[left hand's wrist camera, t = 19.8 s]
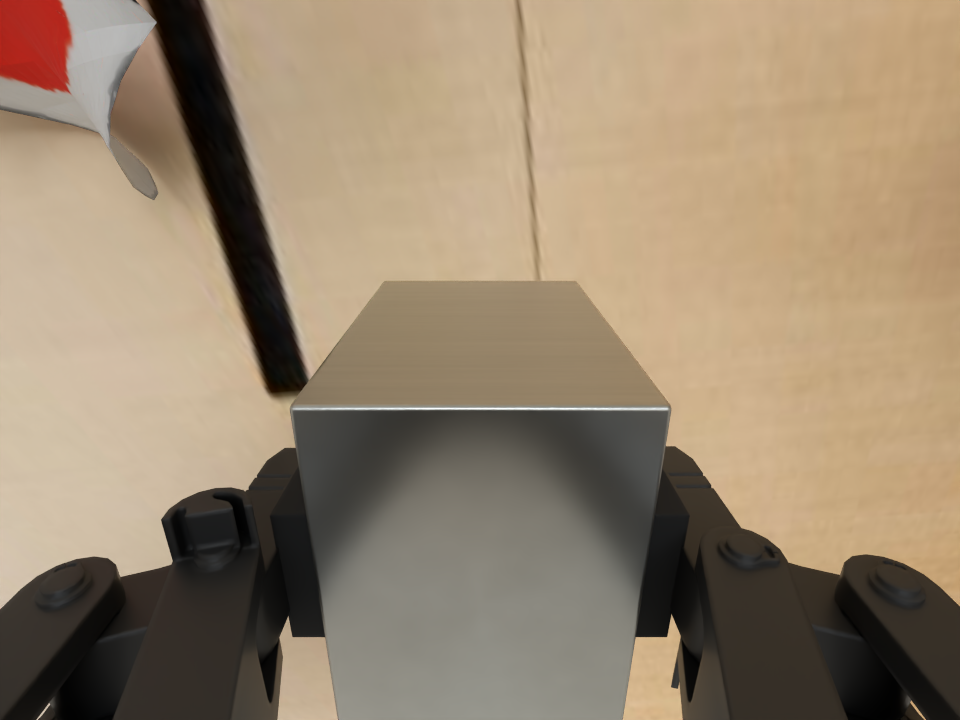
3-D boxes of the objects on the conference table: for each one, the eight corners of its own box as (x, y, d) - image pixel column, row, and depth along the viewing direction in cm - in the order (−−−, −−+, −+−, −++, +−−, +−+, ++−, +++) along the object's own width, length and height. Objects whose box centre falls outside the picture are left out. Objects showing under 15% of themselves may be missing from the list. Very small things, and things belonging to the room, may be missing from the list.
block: (561, 497, 17) (620, 745, 10) (398, 497, 17) (340, 745, 10) (577, 280, 14) (674, 406, 7) (383, 280, 14) (286, 406, 7)
